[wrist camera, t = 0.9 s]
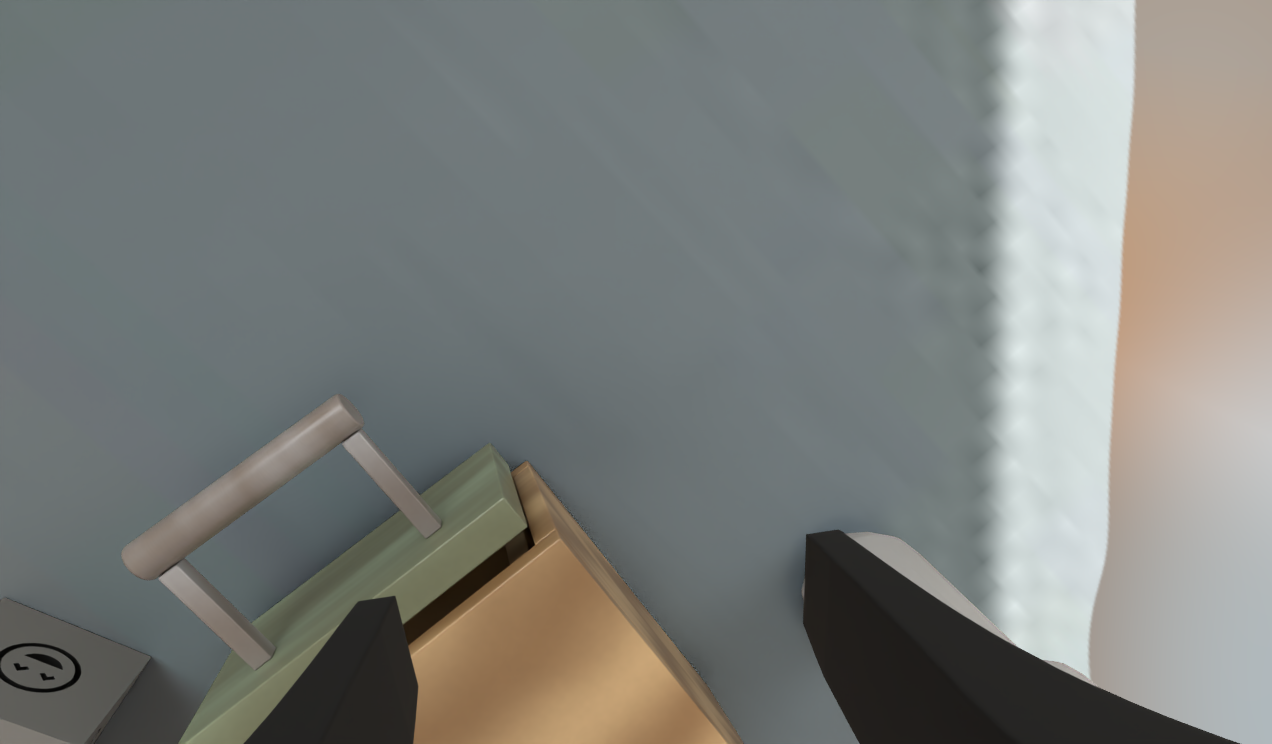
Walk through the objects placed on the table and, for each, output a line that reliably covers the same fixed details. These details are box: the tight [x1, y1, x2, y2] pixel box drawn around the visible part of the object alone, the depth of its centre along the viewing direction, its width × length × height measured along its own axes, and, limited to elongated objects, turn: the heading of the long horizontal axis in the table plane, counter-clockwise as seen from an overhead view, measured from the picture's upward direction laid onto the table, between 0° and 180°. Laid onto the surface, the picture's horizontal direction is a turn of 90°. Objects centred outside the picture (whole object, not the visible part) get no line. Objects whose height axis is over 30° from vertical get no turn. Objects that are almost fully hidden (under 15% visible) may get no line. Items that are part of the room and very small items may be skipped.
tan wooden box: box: [408, 461, 744, 744], centre depth 25 cm, size 14×12×9 cm
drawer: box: [121, 394, 535, 744], centre depth 23 cm, size 18×11×7 cm, turn 36°
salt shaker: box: [801, 532, 1100, 688], centre depth 26 cm, size 6×6×13 cm
